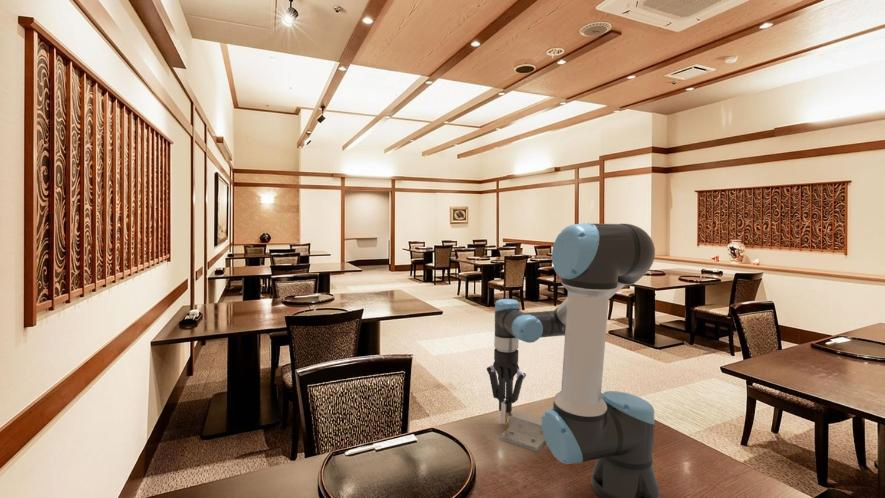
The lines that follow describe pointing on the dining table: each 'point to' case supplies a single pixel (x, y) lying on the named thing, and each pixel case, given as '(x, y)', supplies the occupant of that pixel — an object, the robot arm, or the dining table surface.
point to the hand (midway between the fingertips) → (505, 421)
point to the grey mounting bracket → (524, 431)
